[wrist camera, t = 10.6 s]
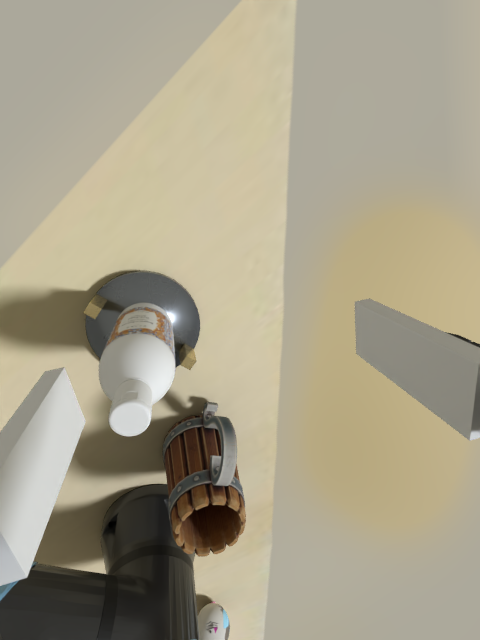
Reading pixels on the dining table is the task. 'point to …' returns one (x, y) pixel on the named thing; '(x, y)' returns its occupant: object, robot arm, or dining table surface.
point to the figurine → (213, 623)
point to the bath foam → (137, 366)
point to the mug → (204, 483)
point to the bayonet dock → (145, 290)
